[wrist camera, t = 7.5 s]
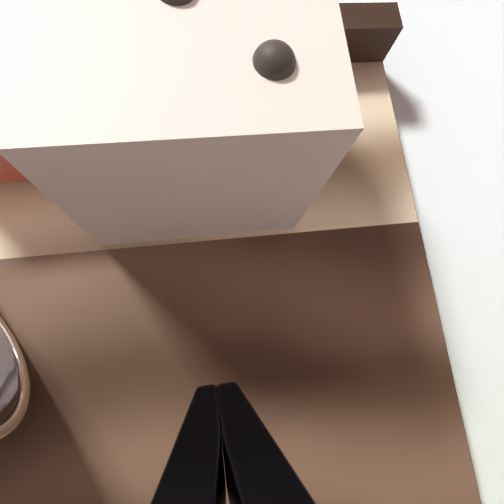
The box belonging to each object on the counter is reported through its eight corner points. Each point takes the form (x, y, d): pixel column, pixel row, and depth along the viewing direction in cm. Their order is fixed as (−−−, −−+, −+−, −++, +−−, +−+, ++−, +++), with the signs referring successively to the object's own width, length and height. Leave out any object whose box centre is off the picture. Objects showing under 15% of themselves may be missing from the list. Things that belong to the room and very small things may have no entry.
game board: (462, 502, 15) (527, 543, 12) (-42, 597, 13) (-122, 675, 10) (367, 56, 20) (396, 2, 16) (-22, 69, 17) (-73, 9, 14)
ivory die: (294, 228, 16) (371, 118, 8) (100, 245, 15) (-18, 139, 7) (270, 67, 17) (315, -152, 10) (94, 73, 16) (-7, -162, 9)
